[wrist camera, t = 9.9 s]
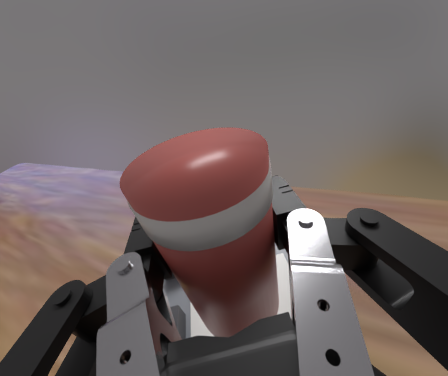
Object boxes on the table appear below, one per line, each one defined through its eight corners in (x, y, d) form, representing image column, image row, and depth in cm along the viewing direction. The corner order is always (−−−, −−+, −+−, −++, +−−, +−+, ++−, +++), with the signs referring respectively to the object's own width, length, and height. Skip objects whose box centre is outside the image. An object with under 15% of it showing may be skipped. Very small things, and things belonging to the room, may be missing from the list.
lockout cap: (264, 253, 15) (247, 118, 9) (294, 332, 10) (299, 175, 5) (197, 270, 15) (137, 145, 9) (201, 357, 10) (91, 227, 5)
